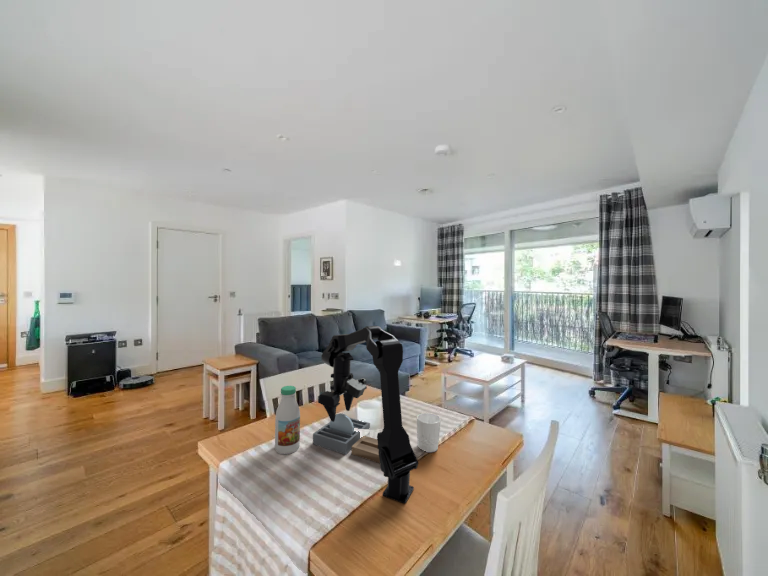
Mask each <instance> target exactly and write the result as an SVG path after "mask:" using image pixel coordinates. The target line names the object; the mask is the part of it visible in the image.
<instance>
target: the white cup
mask: <svg viewBox="0 0 768 576" xmlns="http://www.w3.org/2000/svg"><path fill="white" fill-rule="evenodd" d="M441 419H442V418H441V417H440V415H438V414H436V413H432V412H422V413H419V414H418V415H417V416H416V439H417V448H418V447H419V448H420V449H422V450H425V451H426V452H425V453H435V452H436V451H438V450H439V449H438V448H439V441H440V434H441V433H440V432H441V423H442V420H441ZM419 448H418V449H419ZM420 449H419V450H420Z"/></svg>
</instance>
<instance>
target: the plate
mask: <svg viewBox="0 0 768 576" xmlns="http://www.w3.org/2000/svg"><path fill="white" fill-rule="evenodd" d="M350 418H351V417H350V416H348V415H347V414H345V413H343V412H342V413H341V412H339V413H336V415H335V421H334V422H333V421H331V420H330V421H329V422H330V429H334V430H337V431H341V432H344V433H347V434H351V435H353V432H354V426H353V423H352V421H351V419H350Z"/></svg>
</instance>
